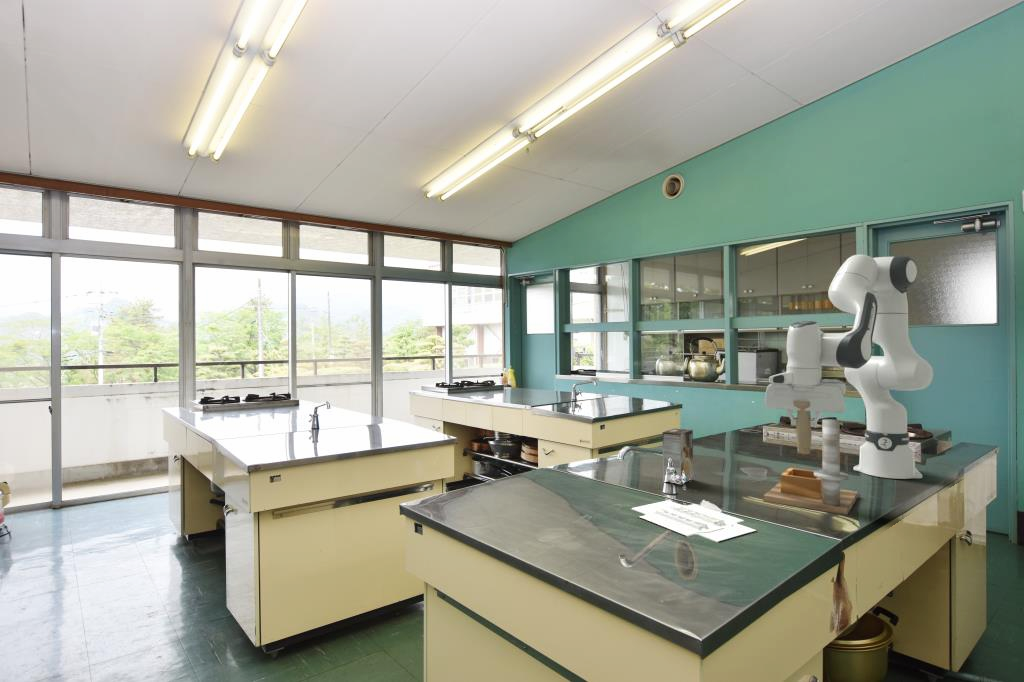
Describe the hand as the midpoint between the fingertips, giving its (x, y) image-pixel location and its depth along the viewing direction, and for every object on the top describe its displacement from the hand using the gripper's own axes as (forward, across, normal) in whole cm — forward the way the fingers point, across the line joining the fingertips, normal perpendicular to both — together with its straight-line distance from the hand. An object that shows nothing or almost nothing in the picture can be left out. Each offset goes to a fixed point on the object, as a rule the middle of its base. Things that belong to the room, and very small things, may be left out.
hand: (803, 426), depth 156 cm
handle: (+8, 0, 0) cm, 8 cm away
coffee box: (+20, +35, +5) cm, 41 cm away
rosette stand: (+20, -2, +1) cm, 20 cm away
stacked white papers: (+21, +18, +39) cm, 48 cm away
